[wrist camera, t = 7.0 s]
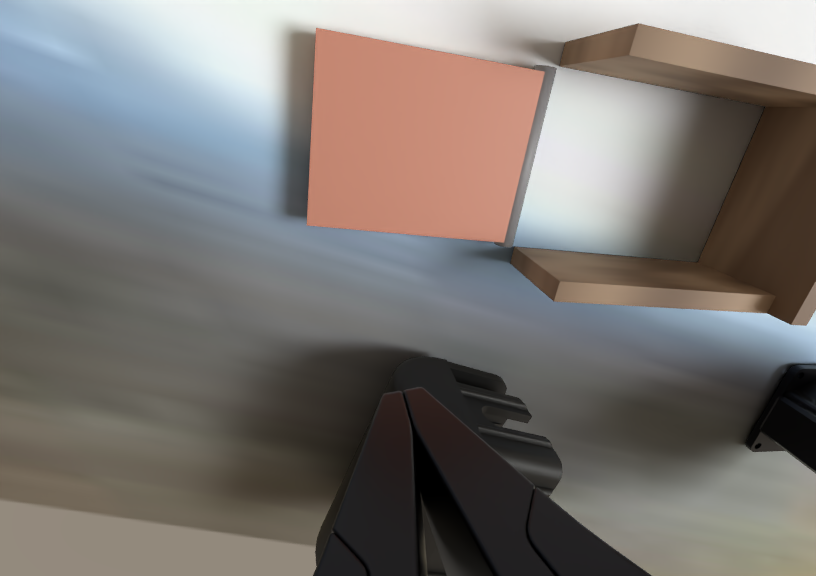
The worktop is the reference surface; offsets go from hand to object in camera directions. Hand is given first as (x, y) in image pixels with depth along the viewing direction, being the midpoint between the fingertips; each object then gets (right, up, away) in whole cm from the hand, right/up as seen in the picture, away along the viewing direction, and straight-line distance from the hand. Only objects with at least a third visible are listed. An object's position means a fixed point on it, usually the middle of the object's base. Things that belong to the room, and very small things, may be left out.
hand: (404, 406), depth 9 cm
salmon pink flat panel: (+5, +8, +8) cm, 12 cm away
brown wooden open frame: (+10, +7, +9) cm, 16 cm away
